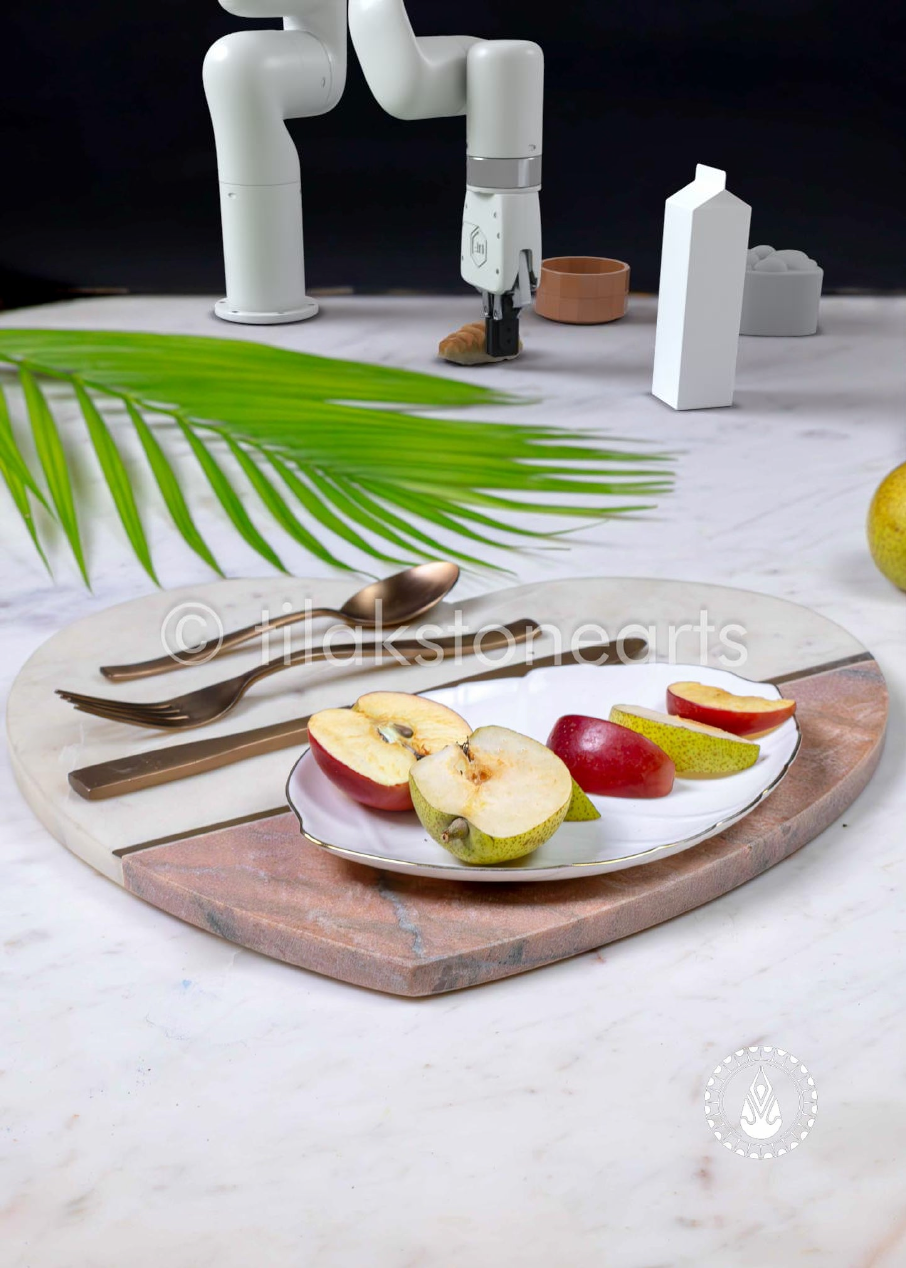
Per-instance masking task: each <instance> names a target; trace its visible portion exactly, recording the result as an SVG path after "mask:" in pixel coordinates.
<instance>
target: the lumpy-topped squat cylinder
mask: <svg viewBox="0 0 906 1268" xmlns="http://www.w3.org/2000/svg"><path fill="white" fill-rule="evenodd" d="M823 277H824V270H823V268H821V267H820V266H818V263H817V262H816V260H814V259H810V258H809V257H808V255H807V254H806V253H804V252H803V251H800V250H795V249H782V250H776V249H775V248H773V246H771V245H767V244H766V245H765V244H764V245H762V244H760V245H757V246H755V247H753V248H750V249H749V248H747V258H746V268H745V278H744V288H743V298H742V308H741V318H740V328H739V335H745V336H762V337H763V336H765V337H766V336H768V337H800V336H801V337H802V336H810V335H813V334H816V333H817V326H818V320H819V310H820V303H821V295H822V287H823Z"/></svg>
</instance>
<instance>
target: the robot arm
mask: <svg viewBox="0 0 906 1268" xmlns="http://www.w3.org/2000/svg"><path fill="white" fill-rule="evenodd" d="M217 1H218V3H219V4H220V6H221V7H222V8H223V9H224V10H226V11H227V12H228V13H230V14H232V15H235V16H237V17H245V18H282V21H283V30H276V29H265V30H264V29H263V30H244V31H237V32H232V33H231V34H230V33H229V34H227V35H224V36H222V37H220V38H219V39H217V40H216V41H215V42H214V43H213V44H212V45H211V46H210V47H209V49H208V51H207V52H206V54H205V56H204V60H203V65H202V81H203V88H204V92H205V98H206V101H207V105H208V109H209V113H210V118H211V122H212V127H213V133H214V140H215V149H216V158H217V169H218V170H217V171H218V172H217V173H218V184H219V198H220V213H221V214H220V215H221V227H222V228H221V229H222V230H221V231H222V242H223V243H222V244H223V245H222V246H223V260H224V273H225V288H226V297H224V298H221V299H219V300H217V302H215V304H214V313H215V315H216V316H217V317H218V318H219V319H222V320H225V321H228V322H233V323H242V324H252V325H253V324H254V325H255V324H257V325H259V324H260V325H269V324H271V325H272V324H285V323H286V324H287V323H292V322H298V321H302V320H303V321H304V320H306V319H309V318H312V317H314V316H316V315H317V314H318V312H319V302H318V301H317V299H315V298H313V297H311V296H309V295H308V296H307V295H306V281H305V280H306V279H305V259H304V258H305V256H304V254H305V253H304V231H303V206H302V203H303V202H302V187H301V186H302V183H301V166H300V159H299V155H298V151H297V148H296V145H295V142H294V141H293V139H292V137H291V135H290V133H289V130H288V129H287V127H286V125H285V122H284V120H287V119H296V118H307V117H314V116H320V115H323V114H326V113H327V112H330V111H331V110H332V109H334V108H335V107H336V105H338V103H339V102H340V100H341V98H342V96H343V93H344V90H345V86H346V80H347V67H348V64H347V63H348V62H347V61H348V59H347V58H348V57H347V55H348V52H347V51H348V50H347V47H348V44H347V43H348V42H347V41H348V40H347V36H348V35H347V33H348V30H347V28H348V27H349V32H350V37H351V41H352V45H353V48H354V51H355V53H356V56H357V58H358V61H359V64H360V67H361V70H362V72H363V75H364V78H365V81H366V82H367V85H368V86H369V89H370V91H371V93H372V95H373V97H374V98H375V100H376V101H377V103H378V105H380V106H381V108H382V109H383V110H384V111H385V112H386V113H387V114H389V115H390V116H392V117H394V118H396V119H399V120H404V121H411V120H412V121H413V120H415V121H416V120H425V119H432V118H433V119H434V118H442V117H445V118H447V117H456V116H457V117H458V116H464V115H466V193H465V198H464V207H463V215H462V228H461V229H462V230H461V247H460V248H461V249H460V251H461V252H460V275H461V277H462V279H463V280H464V281H465V282H466V283H468V284H470V285H472V286H473V287H475V289H476V290H477V291H478V292H479V294H480V295H481V296H482V310H483V314H484V316H485V317H484V318H485V319H484V322H485V353H486V354H488V355H490V356H492V357H494V358H496V357H504V356H513V355H517V354H518V352H519V335H520V319H521V317H522V313H523V308H526V307H527V308H528V307H531V306H532V293H531V292H535V290H536V289H537V288H538V287H539V284H540V277H541V260H542V224H541V207H540V199H539V191H541V189H542V162H543V161H542V160H543V159H542V158H543V157H542V156H543V155H542V154H543V114H544V75H545V73H544V69H545V63H544V61H545V60H544V57H545V56H544V52H543V49H542V48H541V47H540V45H538V44H537V43H536V42H533V41H530V40H524V39H522V40H521V39H489V40H488V39H484V38H480V37H476V36H471V35H438V36H437V35H436V36H435V35H432V36H416V35H415V33H414V30H413V28H412V24H411V22H410V19H409V15H408V13H407V10H406V7H405V4H404V3H405V2H404V0H348V1H347V0H217ZM347 2H348V4H347ZM347 5H348V10H347ZM347 11H348V12H347ZM347 13H348V17H347ZM347 18H348V19H347ZM347 23H348V27H347Z"/></svg>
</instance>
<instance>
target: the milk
mask: <svg viewBox="0 0 906 1268" xmlns="http://www.w3.org/2000/svg"><path fill="white" fill-rule="evenodd" d="M726 181H727V173H726V171H725V170H721V169H719V168H715V167H711V166H708V165H705V164H701V163H697V164H696V168H695V178H694V180H693V181H692V182H690V183H689V184H687V185H686V186H685V187H683V188H682V189H679V190H678V191H677V192H676V193H674V194H672V195H671V196H669V197H668V198H666V200H665V208H664V219H663V220H664V222H663V235H662V249H661V261H660V262H661V263H660V276H659V288H658V289H659V290H658V304H657V316H656V317H657V318H656V332H655V343H654V345H655V347H654V356H653V357H654V359H653V371H652V372H653V373H652V375H653V376H652V386H651V394H652V395H653V396H655V397H656V398H658V399H659V400H660V401H663V402H664V403H665V404H666V405H668V406H670V408H672V409H674V410H676V411H687V410H697V409H698V410H699V409H710V408H719V407H731V406H733V397H734V396H733V395H734V389H735V388H734V387H735V377H736V366H737V358H738V347H739V337H740V334H739V328H740V318H741V308H742V298H743V288H744V278H745V268H746V258H747V249H749V237H750V228H751V217H752V206H751V205H749V204H747V203H746V202H745V201H743V200H742V199H741V198H740V197H738V196H736V195H734V194H733V193H731V192H730V191H729V190H727V189H726Z"/></svg>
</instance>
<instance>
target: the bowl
mask: <svg viewBox="0 0 906 1268" xmlns="http://www.w3.org/2000/svg"><path fill="white" fill-rule="evenodd" d="M630 274H631V267H630V265H629V264H628V263H626V262H623V261H621V260H618V259H612V258H607V257H598V256H597V257H596V256H560V257H559V256H558V257H551V258H545V259H541V277H540V284H539V287H538V288H537V289H536V290H535V291H534V308H533V309H534V311H535V314H537V315H540V316H542V317H544V318H546V319H548V320H551V321H555V322H559V323H564V324H574V325H575V324H576V325H577V324H579V325H593V324H604V323H609V322H612V321H615V320H616V319H620V318H623V317H624V316H625V315H626V314H627V313H628V307H629V306H628V305H629V293H630V292H629V291H630V290H629V289H630V278H631V277H630Z"/></svg>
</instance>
